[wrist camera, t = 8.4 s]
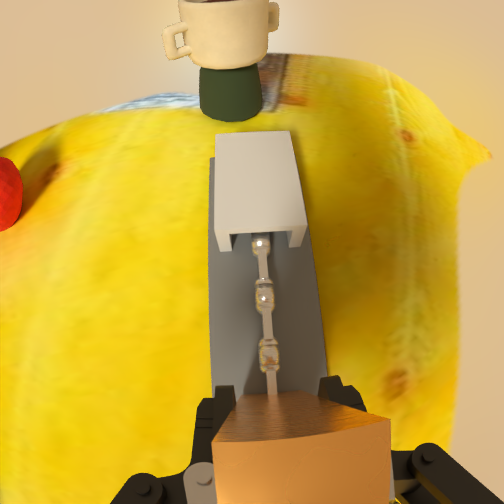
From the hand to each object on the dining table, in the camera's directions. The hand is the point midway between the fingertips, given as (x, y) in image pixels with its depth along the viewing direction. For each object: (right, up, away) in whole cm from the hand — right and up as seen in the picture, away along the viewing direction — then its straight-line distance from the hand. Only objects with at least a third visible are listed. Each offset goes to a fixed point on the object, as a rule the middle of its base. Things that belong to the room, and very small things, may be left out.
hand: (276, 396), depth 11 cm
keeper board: (0, +1, +8) cm, 8 cm away
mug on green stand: (-3, +21, +16) cm, 26 cm away
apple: (-27, +10, +12) cm, 31 cm away
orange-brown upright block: (0, 0, +6) cm, 6 cm away
